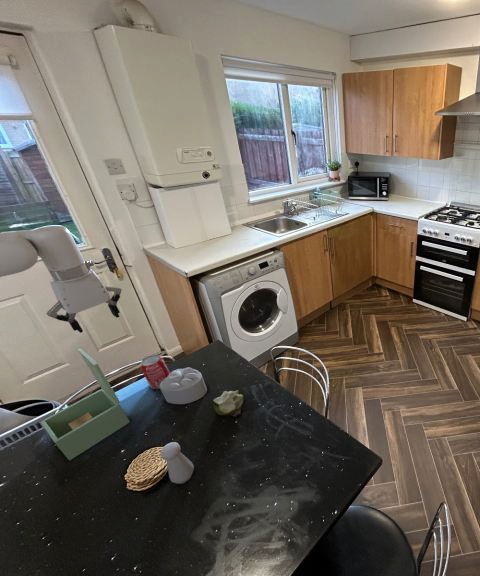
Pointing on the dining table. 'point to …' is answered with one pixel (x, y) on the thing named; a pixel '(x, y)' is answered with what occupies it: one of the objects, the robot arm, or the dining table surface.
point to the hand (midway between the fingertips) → (98, 323)
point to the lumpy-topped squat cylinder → (183, 386)
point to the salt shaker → (177, 463)
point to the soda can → (154, 370)
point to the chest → (88, 434)
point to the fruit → (228, 403)
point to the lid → (99, 375)
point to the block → (80, 421)
